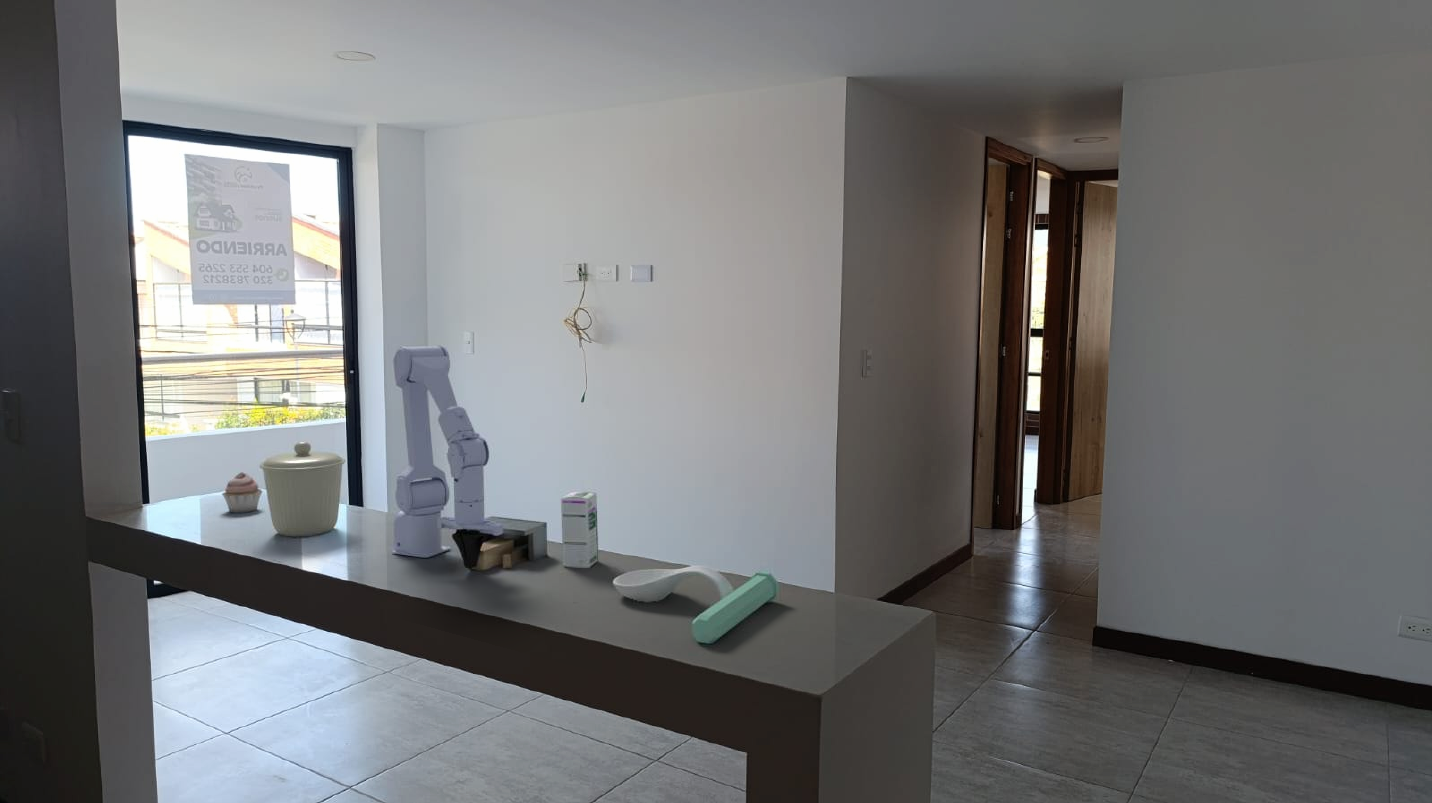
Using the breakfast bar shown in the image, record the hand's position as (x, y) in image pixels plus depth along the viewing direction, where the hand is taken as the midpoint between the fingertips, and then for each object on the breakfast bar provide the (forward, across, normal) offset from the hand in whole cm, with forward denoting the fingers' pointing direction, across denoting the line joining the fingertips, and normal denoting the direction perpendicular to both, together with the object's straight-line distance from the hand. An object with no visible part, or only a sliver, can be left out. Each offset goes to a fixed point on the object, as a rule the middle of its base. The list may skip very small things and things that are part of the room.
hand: (470, 566), depth 187 cm
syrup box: (+1, +17, +14) cm, 22 cm away
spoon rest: (+2, +45, 0) cm, 45 cm away
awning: (+1, 0, +11) cm, 11 cm away
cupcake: (+1, -87, +20) cm, 90 cm away
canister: (+1, -55, +11) cm, 56 cm away
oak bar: (+1, 0, +7) cm, 7 cm away
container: (+2, +59, -5) cm, 59 cm away
